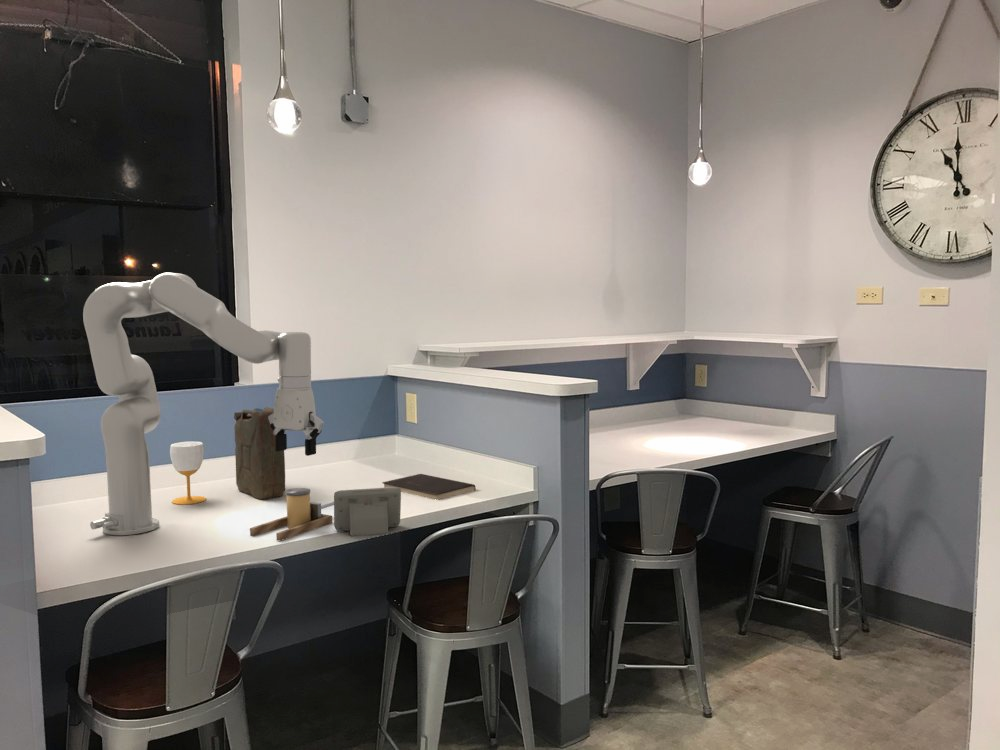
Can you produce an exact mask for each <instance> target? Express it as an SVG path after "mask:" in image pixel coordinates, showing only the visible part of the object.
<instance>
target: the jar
mask: <svg viewBox="0 0 1000 750" xmlns="http://www.w3.org/2000/svg"><path fill="white" fill-rule="evenodd" d="M285 494H286V516H287V525H286V526H287V529H290V528H293V527H296V526H299V525H302V524H305V523H308V522H311V512H310V502H311V489H310V488H307V487H295V488H289V489H287V490H285Z"/></svg>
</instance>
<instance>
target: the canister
mask: <svg viewBox="0 0 1000 750" xmlns="http://www.w3.org/2000/svg"><path fill="white" fill-rule="evenodd" d="M273 413H274V407H270V406H268V407H267V406H265V407H264V408H263V409H262V408H260V407H259V408H257V407H254V409H253V410H251V409H247V408H243V409H242V410H241V411H238V412H237V411H236V412H235V411H234V412H233V415H234V417H233V418H234V420H235V423H234V442H235V444H234V445H235V449H234V452H235V456H234V457H235V484H236V487H237V490H238V491H239V492H242V493H244V494H249V495H250V496H252V497H254V498H256V499H258V500H267V499H268V500H269V499H273V498H278V497H283V496H284V494H285V492H286V460H285V459H286V458H285V450H283V451H276V439H275V435H274V434H273V430H272V428H271V426H270V425H271V424H270V422H269V419H268V416H269V415H271V414H273Z"/></svg>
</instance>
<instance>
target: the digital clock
mask: <svg viewBox="0 0 1000 750" xmlns="http://www.w3.org/2000/svg"><path fill="white" fill-rule="evenodd" d="M401 500H402V492H401V489H400V488H397V487H387V488H384V487H372V488H371V487H370V488H358V489H357V488H356V489H354V488H353V489H342V490H336V491H335V492H334V494H333V502H334V505H333V526H334V529H335V530H336V531H339V532H342V531H349V534H350V536H351V537H359V536H373V535H386V534H387V535H388V534H389V528H395V527H398V526H400V524H401V509H402V508H401V505H402V504H401V503H402V502H401Z"/></svg>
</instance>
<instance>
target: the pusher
mask: <svg viewBox="0 0 1000 750" xmlns="http://www.w3.org/2000/svg"><path fill="white" fill-rule="evenodd" d="M330 507H334V501H331V502H328V503H325V504H322V503H320V502H313V501H310V512H311V521H313V520H316V519H319V518H321V514H322V510H324V509H326V508H330Z"/></svg>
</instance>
